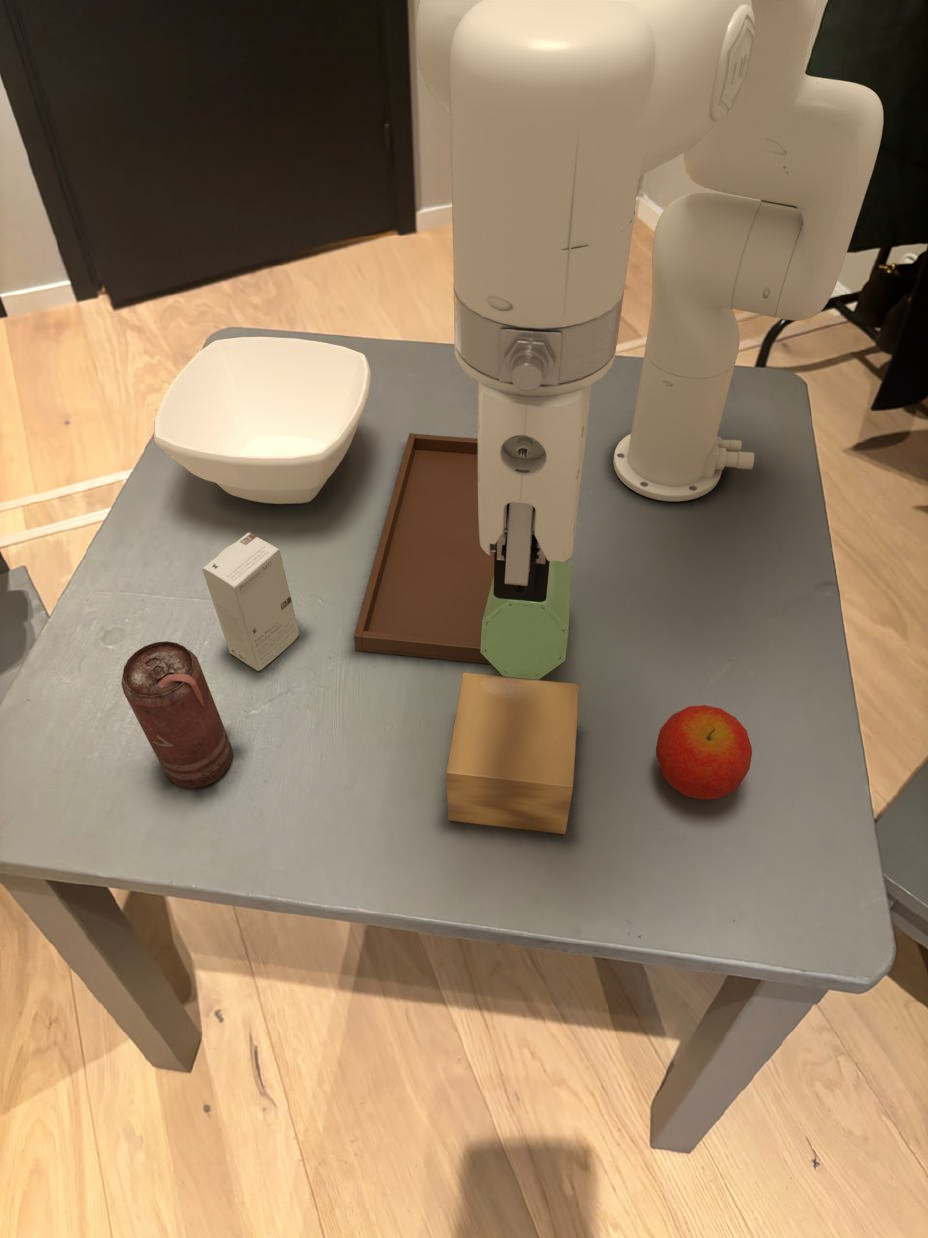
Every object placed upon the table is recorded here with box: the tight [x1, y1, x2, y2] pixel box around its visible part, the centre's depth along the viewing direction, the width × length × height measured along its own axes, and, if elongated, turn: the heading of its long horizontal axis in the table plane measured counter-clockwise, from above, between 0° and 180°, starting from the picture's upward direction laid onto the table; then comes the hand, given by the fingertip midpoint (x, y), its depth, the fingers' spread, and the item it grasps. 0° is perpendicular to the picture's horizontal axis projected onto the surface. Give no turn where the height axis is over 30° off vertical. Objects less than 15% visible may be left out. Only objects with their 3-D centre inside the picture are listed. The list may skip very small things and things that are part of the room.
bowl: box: [153, 336, 372, 505], centre depth 102 cm, size 22×22×12 cm
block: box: [445, 672, 580, 835], centre depth 77 cm, size 10×10×8 cm
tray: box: [353, 433, 494, 665], centre depth 97 cm, size 18×32×2 cm, turn 172°
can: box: [121, 640, 233, 789], centre depth 76 cm, size 6×6×14 cm
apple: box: [655, 704, 753, 800], centre depth 76 cm, size 8×8×8 cm
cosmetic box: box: [201, 532, 300, 672], centre depth 85 cm, size 6×4×12 cm
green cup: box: [480, 559, 573, 680], centre depth 81 cm, size 7×7×14 cm
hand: (520, 590), depth 55 cm, fingers closed
